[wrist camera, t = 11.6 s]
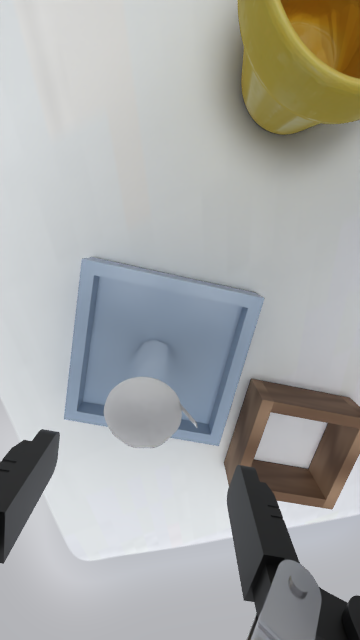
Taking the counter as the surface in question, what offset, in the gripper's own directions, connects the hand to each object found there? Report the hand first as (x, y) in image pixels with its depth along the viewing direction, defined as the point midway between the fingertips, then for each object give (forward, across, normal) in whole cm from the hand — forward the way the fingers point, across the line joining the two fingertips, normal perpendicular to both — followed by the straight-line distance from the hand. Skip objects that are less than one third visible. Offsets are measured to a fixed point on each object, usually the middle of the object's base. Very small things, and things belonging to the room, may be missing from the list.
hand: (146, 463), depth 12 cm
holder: (+13, -14, +6) cm, 20 cm away
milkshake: (+12, 0, 0) cm, 12 cm away
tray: (+13, 0, 0) cm, 13 cm away
